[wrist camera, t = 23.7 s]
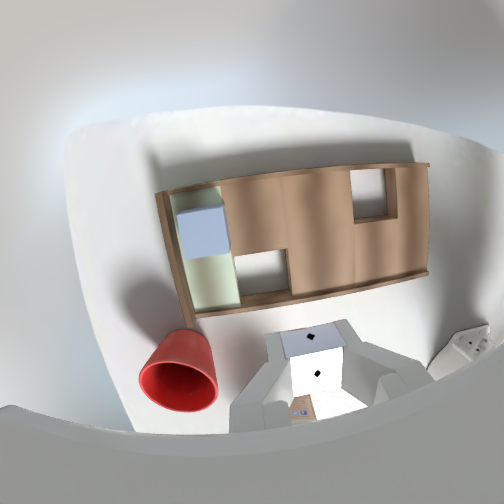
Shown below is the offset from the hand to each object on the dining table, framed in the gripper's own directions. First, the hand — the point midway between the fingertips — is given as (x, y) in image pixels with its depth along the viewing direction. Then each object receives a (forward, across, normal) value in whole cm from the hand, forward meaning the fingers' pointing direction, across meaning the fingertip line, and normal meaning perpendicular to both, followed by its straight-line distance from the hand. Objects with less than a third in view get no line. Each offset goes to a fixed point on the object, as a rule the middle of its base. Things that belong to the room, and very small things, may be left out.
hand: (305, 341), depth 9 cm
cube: (+24, +6, 0) cm, 25 cm away
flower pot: (+27, +14, +19) cm, 36 cm away
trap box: (+27, -7, +3) cm, 28 cm away
